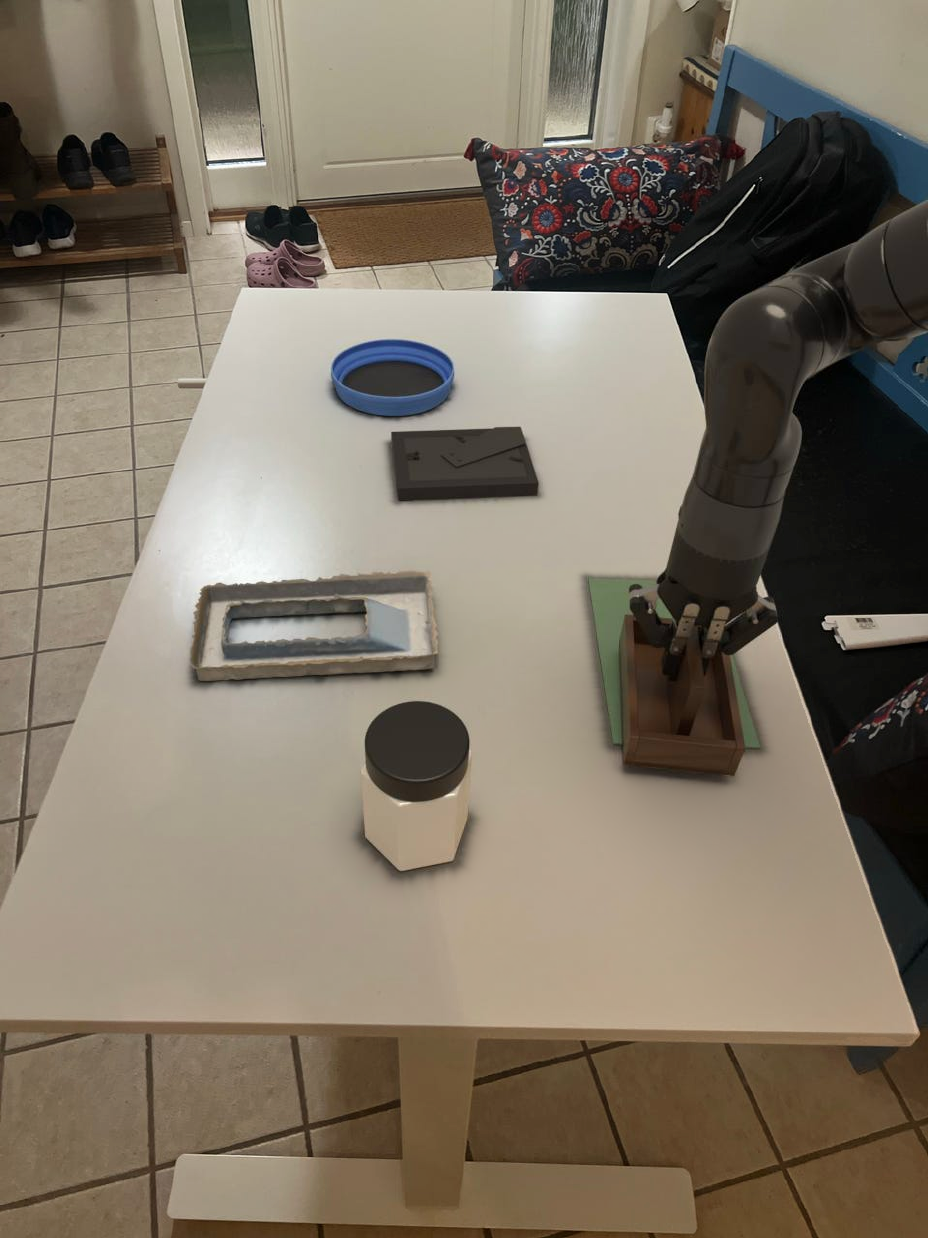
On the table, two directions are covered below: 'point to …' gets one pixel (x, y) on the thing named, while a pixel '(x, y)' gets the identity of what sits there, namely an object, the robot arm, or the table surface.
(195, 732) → the table surface
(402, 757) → the jar
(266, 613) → the picture frame
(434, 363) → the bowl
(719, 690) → the cutlery caddy
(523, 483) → the picture frame
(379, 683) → the table surface
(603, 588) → the mat
